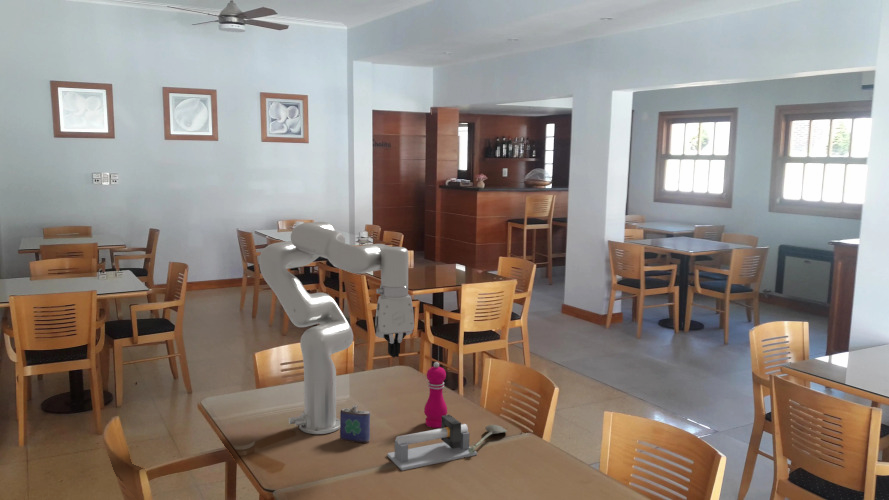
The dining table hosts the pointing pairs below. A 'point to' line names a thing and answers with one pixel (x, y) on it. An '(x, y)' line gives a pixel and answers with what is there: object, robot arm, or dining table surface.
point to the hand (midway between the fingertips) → (394, 355)
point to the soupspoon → (492, 430)
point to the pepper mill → (435, 397)
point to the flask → (354, 425)
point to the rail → (428, 449)
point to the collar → (452, 431)
